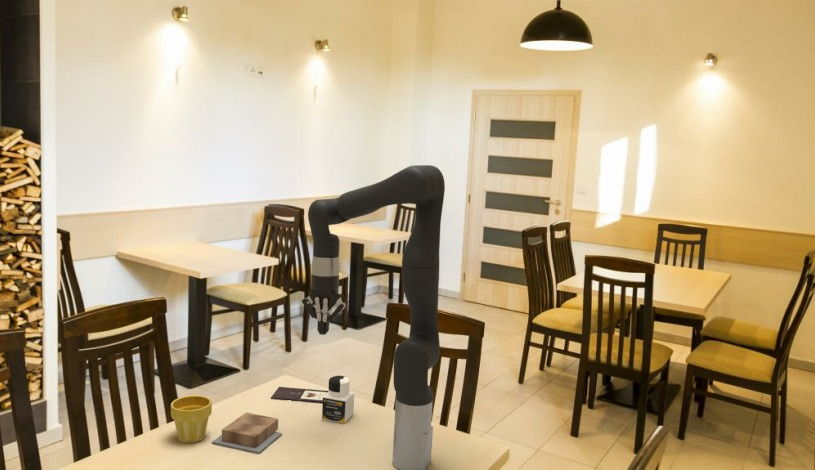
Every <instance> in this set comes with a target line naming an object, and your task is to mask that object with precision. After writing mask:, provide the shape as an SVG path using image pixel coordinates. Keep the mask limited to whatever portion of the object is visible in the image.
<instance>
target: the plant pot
mask: <svg viewBox="0 0 815 470" xmlns="http://www.w3.org/2000/svg"><path fill="white" fill-rule="evenodd" d="M212 404H213V403H212V400H211V398H210V397H208V396H204V395H197V394H196V395H193V394H192V395H186V396H182V397H181V396H180V397H179V398H176V399H174V400H173V401H172V402H171V403H170V416H171V419H172V420H173V421H174V424H175V430H176V433H177V436H178V440H179V441H181V442H182V443H187V444H189V443H197V442H200V441H202V440H203V439H204V438H205V437H206V431H207V428H208V427H207V426H208V423H209V422H208V421H209V418H210V417H211V415H212V410H213V409H212V408H213V407H212V406H213V405H212Z"/></svg>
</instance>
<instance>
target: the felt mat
mask: <svg viewBox="0 0 815 470" xmlns="http://www.w3.org/2000/svg"><path fill="white" fill-rule="evenodd" d="M281 436H283V432H278V431H275V432H274V433H273V434H271V435H270V436H269V437H268V438H267V439H265V440H264V441H263V442H262V443H261V444H259V445H258V446H257V447H256V448H255V447H250V446H245V445H241V444H236V443H231V442H227V441H222V434H220V435H219V436H218V437H216V438H215V439H214V440H212V441H211V444H212V445H214V446H215V445H216V446H221V447H225V448H229V449H234V450H239V451H243V452H248V453H252V454H257V455H260V454H261V453H262V452H264V451H265V450H267V448H269V447H270V446H271V445H272V444H273V443H275V442H276V441H277V440H278V439H279V438H280V437H281Z"/></svg>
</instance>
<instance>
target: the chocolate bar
mask: <svg viewBox="0 0 815 470" xmlns="http://www.w3.org/2000/svg"><path fill="white" fill-rule="evenodd" d="M328 392H329V391H328V390H324V389H323V390H322V389H321V390H320V389H312V388H311V389H309V388H297V387H285V386H278V388H277V389H276V390H275V392H273V394H272V395H271V396H270V400H276V401H278V400H279V401H287V400H291V402H298V401H300V403H301V401H302V403H312V404H322V405H323V396H324V395H325V394H327V393H328Z"/></svg>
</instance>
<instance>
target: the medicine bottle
mask: <svg viewBox="0 0 815 470" xmlns="http://www.w3.org/2000/svg"><path fill="white" fill-rule="evenodd" d="M350 383H351V380H350V379H349V377H346V376H344V375H334V376H331V377H330V378H329V379H328V390H327V391H329V392H328V393H327V394H325V395H324V396H323V404H322V405H321V406H322V412H321V419H322V420H324V421H327V422H335V423H338V424H339V423H340V424H346V422H347V421H348V420H349V419H351V418H352V417H353V416H354V412H355V410H354V409H355V392H354V391H350V388H351V385H350Z"/></svg>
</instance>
